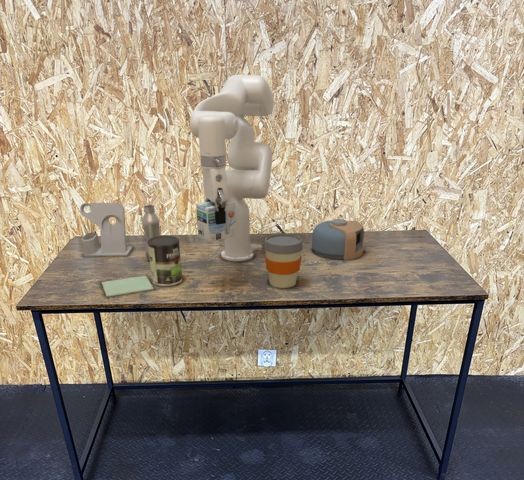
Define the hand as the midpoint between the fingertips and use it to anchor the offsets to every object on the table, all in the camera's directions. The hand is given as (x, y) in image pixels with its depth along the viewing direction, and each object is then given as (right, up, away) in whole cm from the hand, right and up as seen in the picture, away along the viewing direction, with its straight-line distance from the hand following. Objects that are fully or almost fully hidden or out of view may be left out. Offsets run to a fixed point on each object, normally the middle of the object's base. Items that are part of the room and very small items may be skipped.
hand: (216, 219), depth 156 cm
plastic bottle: (-26, -7, +30) cm, 40 cm away
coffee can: (-18, -17, +14) cm, 28 cm away
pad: (-30, -20, +9) cm, 37 cm away
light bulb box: (0, -5, +3) cm, 6 cm away
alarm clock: (+44, -2, +39) cm, 59 cm away
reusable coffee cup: (+21, -18, +12) cm, 31 cm away
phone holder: (-46, -3, +38) cm, 59 cm away
